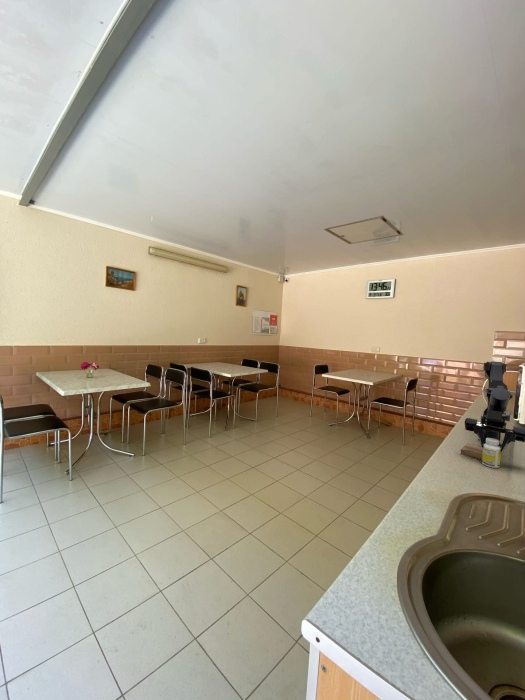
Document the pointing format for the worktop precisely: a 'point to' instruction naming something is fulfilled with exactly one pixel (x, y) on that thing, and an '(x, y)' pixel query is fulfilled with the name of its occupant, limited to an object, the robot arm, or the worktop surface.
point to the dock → (472, 451)
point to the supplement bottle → (491, 453)
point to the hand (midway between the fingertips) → (491, 448)
